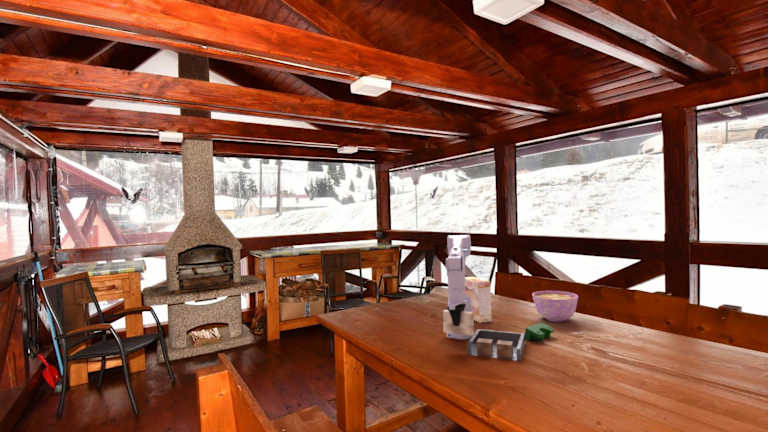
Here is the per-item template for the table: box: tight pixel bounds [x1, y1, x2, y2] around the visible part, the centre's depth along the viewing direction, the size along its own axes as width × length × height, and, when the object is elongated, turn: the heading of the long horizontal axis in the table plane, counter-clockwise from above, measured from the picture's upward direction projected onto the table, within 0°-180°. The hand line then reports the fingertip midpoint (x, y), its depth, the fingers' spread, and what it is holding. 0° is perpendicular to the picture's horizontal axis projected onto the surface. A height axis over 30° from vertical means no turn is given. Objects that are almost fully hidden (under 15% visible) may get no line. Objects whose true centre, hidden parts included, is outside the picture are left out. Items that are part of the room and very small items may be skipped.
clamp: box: [524, 321, 554, 343], centre depth 149 cm, size 12×6×9 cm, turn 121°
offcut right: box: [497, 340, 513, 358], centre depth 132 cm, size 5×4×4 cm
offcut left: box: [477, 338, 493, 356], centre depth 135 cm, size 5×4×4 cm
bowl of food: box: [531, 290, 579, 323], centre depth 177 cm, size 20×20×12 cm
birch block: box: [442, 309, 475, 337], centre depth 140 cm, size 11×2×8 cm, turn 65°
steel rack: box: [467, 328, 526, 362], centre depth 139 cm, size 18×18×5 cm
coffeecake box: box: [465, 276, 492, 324], centre depth 184 cm, size 15×7×20 cm, turn 17°
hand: (457, 324), depth 140 cm, fingers closed on birch block, 2 cm apart
